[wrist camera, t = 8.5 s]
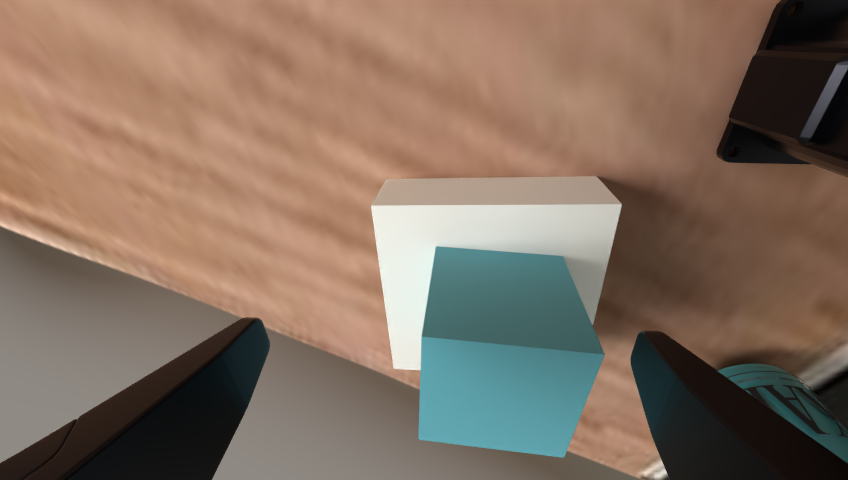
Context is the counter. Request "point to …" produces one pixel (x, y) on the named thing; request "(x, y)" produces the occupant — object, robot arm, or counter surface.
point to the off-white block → (485, 236)
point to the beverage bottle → (792, 403)
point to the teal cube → (504, 352)
